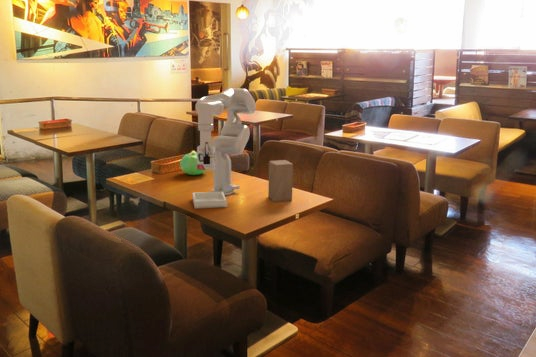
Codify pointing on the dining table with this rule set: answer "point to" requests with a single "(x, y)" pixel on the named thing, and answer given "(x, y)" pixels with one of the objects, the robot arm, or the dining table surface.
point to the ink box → (200, 159)
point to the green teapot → (190, 164)
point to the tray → (209, 199)
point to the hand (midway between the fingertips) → (206, 162)
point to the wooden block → (280, 180)
